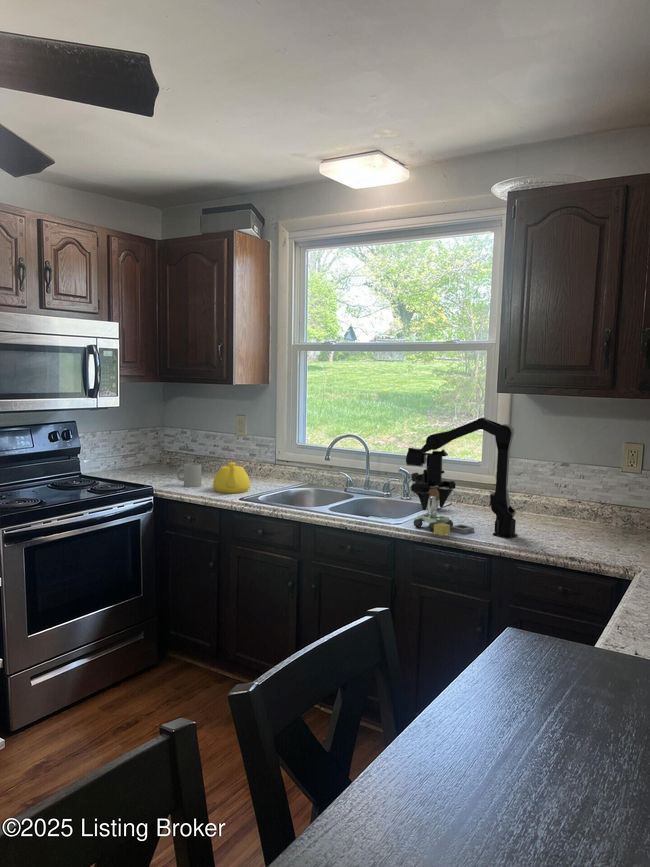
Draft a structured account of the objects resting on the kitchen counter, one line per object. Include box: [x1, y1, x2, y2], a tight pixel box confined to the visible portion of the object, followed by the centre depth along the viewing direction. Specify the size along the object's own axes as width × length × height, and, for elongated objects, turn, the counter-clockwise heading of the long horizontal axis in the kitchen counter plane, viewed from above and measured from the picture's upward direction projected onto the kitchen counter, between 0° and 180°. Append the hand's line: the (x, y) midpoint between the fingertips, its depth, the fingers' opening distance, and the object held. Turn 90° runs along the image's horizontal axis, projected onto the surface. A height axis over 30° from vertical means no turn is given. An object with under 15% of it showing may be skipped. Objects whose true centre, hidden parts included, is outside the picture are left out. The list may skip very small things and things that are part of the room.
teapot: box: [212, 462, 251, 494], centre depth 302 cm, size 25×18×14 cm
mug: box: [176, 462, 202, 488], centre depth 314 cm, size 12×8×11 cm
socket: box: [450, 523, 475, 535], centre depth 232 cm, size 6×6×2 cm
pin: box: [427, 496, 437, 519], centre depth 237 cm, size 3×3×8 cm
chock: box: [433, 523, 451, 537], centre depth 227 cm, size 4×4×4 cm
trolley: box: [413, 513, 454, 533], centre depth 236 cm, size 11×10×4 cm
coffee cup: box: [426, 488, 439, 510], centre depth 272 cm, size 8×8×15 cm
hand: (432, 508), depth 237 cm, fingers open, 9 cm apart
